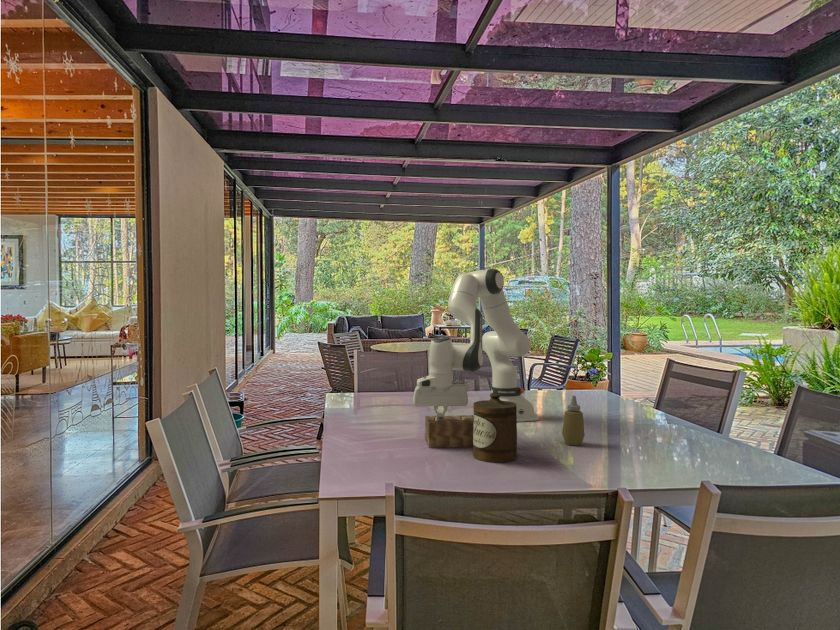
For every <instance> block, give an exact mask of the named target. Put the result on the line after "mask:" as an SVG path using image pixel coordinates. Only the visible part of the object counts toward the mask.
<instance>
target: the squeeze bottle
mask: <svg viewBox="0 0 840 630" xmlns="http://www.w3.org/2000/svg"><path fill="white" fill-rule="evenodd" d="M577 401H578V400H577V397H576V395H571V400H570V402H569V403H570V404H567V406H566V409H567V410H565V411H564V414H563V421H562V423H563V424H562V430H561V431H562V433H561V434H562V437H563V441H564V444H565V445H567V446H572V445H573V446H577V447H578V446H581V445H582V443H583V440H584V438H585V424H584V413H583V412H582V411H581V405H579V404H578V402H577Z"/></svg>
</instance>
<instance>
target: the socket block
mask: <svg viewBox="0 0 840 630" xmlns="http://www.w3.org/2000/svg"><path fill="white" fill-rule="evenodd" d="M462 417H472V418H473V420H462ZM435 418H436V415H425V416H424V419H425V422H424V423H425V424H424V427H425V430H424V432H425V433H424V438H425V442H426V445H427V446H428V448H429V449H431V448H433V449H434V448H437V449H438V448H442V449H443V448H473V426H474V414H471V415H470V414H469V415H468V414H467V415H463V414H461V415H445V418H446V421H435Z"/></svg>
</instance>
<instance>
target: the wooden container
mask: <svg viewBox="0 0 840 630" xmlns="http://www.w3.org/2000/svg"><path fill="white" fill-rule="evenodd" d="M489 397H490V399H487V400H478V401H475V402H474V403H473V415H474V426H473V447H472V448H473V449H472V452H473V453H472V455H473V458H475V459H477V460H479V461H481V462H490V463H508V462H511V461H514V460H516V459H517V457H518V454H517V453H518V445H517V444H518V425H517V424H518V422H517V415H516V414H517V406H516V404H515V403H513V402H509V401H501V400H500V399H499V398H500V394H499V393H497V392H493V393H491V392H490V394H489Z"/></svg>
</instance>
